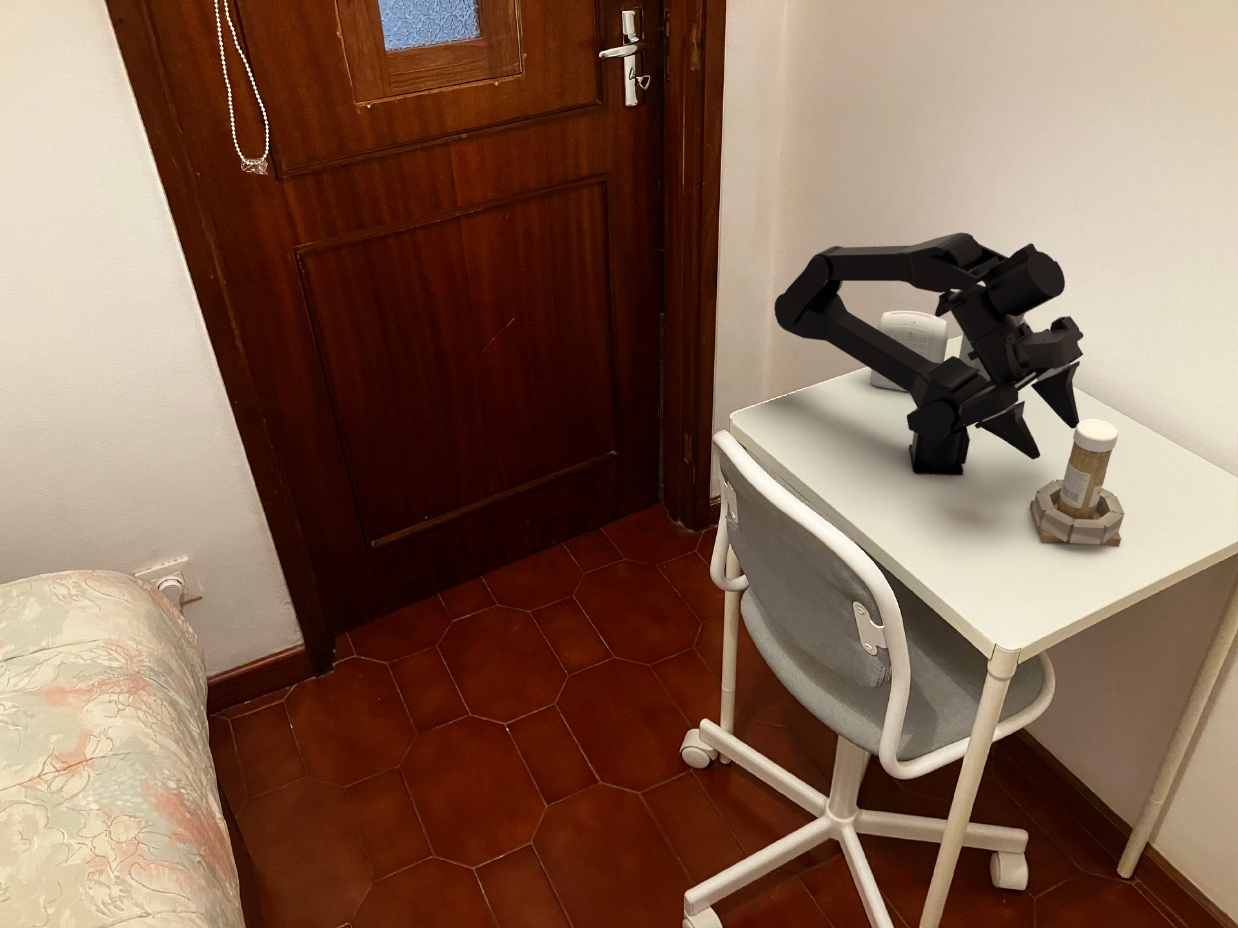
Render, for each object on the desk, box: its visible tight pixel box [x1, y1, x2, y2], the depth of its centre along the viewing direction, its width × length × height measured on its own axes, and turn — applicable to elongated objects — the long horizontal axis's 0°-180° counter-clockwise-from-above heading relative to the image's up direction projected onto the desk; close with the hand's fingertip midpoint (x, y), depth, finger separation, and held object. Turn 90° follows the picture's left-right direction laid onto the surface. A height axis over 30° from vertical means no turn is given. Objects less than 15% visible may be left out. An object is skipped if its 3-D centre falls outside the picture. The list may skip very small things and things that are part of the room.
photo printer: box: [870, 310, 949, 392], centre depth 151 cm, size 10×4×12 cm, turn 69°
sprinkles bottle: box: [1056, 418, 1119, 520], centre depth 121 cm, size 5×5×14 cm
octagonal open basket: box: [1029, 479, 1125, 547], centre depth 125 cm, size 10×10×4 cm
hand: (1056, 442), depth 123 cm, fingers open, 9 cm apart
